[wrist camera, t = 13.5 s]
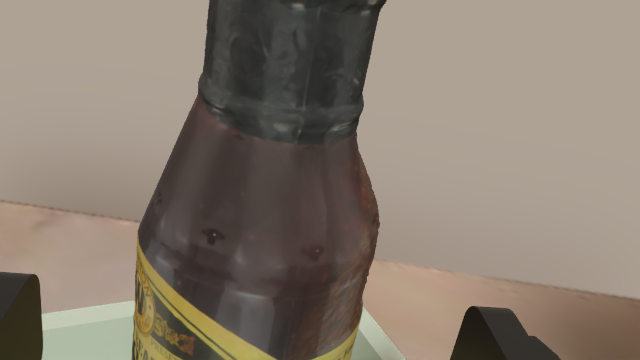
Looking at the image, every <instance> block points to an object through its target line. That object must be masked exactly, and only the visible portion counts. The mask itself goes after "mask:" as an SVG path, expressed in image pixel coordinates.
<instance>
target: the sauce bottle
mask: <svg viewBox="0 0 640 360" xmlns="http://www.w3.org/2000/svg"><path fill="white" fill-rule="evenodd" d="M385 2H386V0H210V2H209V9H208V20H207V36H206V48H205V59H204V67H203V73H202V74H201V76H200V78H199V82H198V95H197V98H196V99H195V102H194V104H193V106H192V108H191V110H190V112H189V115H188V117H187V119H186V121H185V123H184V126H183V128H182V130H181V132H180V135H179V137H178V139H177V141H176V144H175V146H174V148H173V151H172V153H171V155H170V158H169V160H168V162H167V164H166V166H165V169H164V171H163V173H162V176H161V178H160V180H159V182H158V185H157V187H156V189H155V191H154V194H153V196H152V198H151V201H150V203H149V205H148V208H147V210H146V212H145V214H144V216H143V219H142V221H141V223H140V226H139V229H138V236H137V261H136V275H135V312H134V315H133V321H134V331H133V343H132V360H350V358H351V354H352V350H353V347H354V343H355V339H356V335H357V331H358V328H359V324H360V320H361V316H362V311H363V301H362V294H363V291H364V288H365V284H366V282H367V276H368V274H369V269H370V266H371V264H372V261H373V258H374V254H375V248H376V242H377V236H378V229H379V226H380V222H379V214H378V205H377V201H376V198H375V195H374V192H373V190H372V186H371V181H370V178H369V176H368V174H367V171H366V168H365V165H364V163H363V160H362V158H361V155H360V153H359V151H358V144H357V133H356V129H357V126H358V122H359V117H360V115H361V113H362V110H363V106H364V101H363V95H362V91H363V87H364V82H365V77H366V72H367V68H368V64H369V59H370V55H371V50H372V44H373V39H374V34H375V30H376V25H377V21H378V16H379V12H380V10H381V8H382V7H383V5H384V4H385Z"/></svg>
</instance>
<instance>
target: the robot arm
mask: <svg viewBox="0 0 640 360" xmlns="http://www.w3.org/2000/svg"><path fill="white" fill-rule="evenodd" d="M42 354H43V330H42V314H41V297H40V283H39V279H38V277H37V275H35V274H22V273H8V272H0V360H42ZM450 360H560V358H559V357H558V355H556V354H555V353H554V352H553V351H552V350H551V349H549V348H548V347H547V346H546V345H545V344H544V343H542V342H541V341H540V340H539V339H538V338H537V337H535V336H528V334H527V333H526V331H525V329H524V328H523V326H522V325H521V323H520V322H519V320H518V319H517V317H516V316H515V314H514V313H513V311H511V310H510V309H507V308H493V307H478V306H471V307H470V308H468V310H467V311H466V313H465V316H464V318H463V322H462V325H461V328H460V331H459V334H458V337H457V340H456V343H455V346H454V349H453V352H452V355H451V358H450Z"/></svg>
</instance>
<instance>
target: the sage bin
mask: <svg viewBox="0 0 640 360" xmlns="http://www.w3.org/2000/svg"><path fill="white" fill-rule="evenodd" d="M134 312H135V300H134V301H127V302H120V303H114V304H107V305H100V306H93V307H87V308H80V309H73V310H66V311H59V312H53V313H46V314H42V330H43V354H42V360H132V343H133V331H134V321H133V315H134ZM350 360H406V359H405V358H404V356H403V355H402V354H401V353H400V351H399V350H398V349H397V348H396V346H395V345H394V344H393V343H392V342H391V340H390V339H389V338H388V337H387V335H386V334H385V333H384V332H383V330H382V329H381V328H380V327H379V325H378V324H377V323H376V322H375V320H374V319H373V318H372V317H371V315H370V314H369V313H368V312H367V310H366V309H365V308H364V307H363V311H362V316H361V320H360V324H359V328H358V331H357V335H356V339H355V343H354V347H353V350H352V354H351V358H350Z"/></svg>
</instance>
